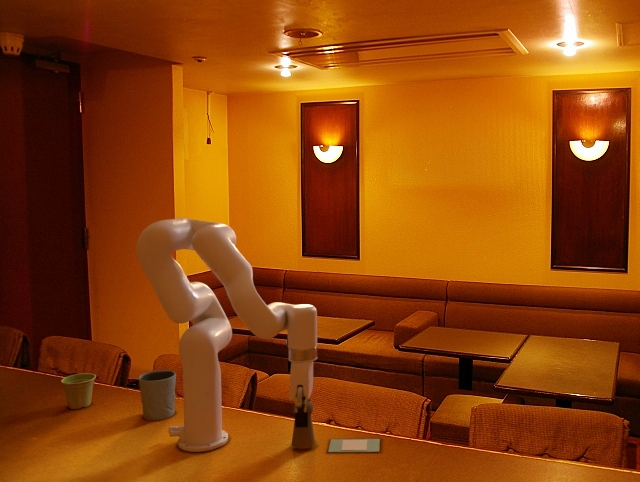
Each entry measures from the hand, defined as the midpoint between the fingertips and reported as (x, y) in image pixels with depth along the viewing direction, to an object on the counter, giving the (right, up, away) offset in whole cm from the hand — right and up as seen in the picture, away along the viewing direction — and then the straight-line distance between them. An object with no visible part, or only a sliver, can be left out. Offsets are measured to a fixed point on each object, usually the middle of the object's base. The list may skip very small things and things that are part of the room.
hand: (303, 421), depth 157 cm
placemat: (+13, -7, +1) cm, 15 cm away
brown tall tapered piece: (0, -6, 0) cm, 6 cm away
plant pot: (-73, -5, +29) cm, 79 cm away
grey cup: (-46, -6, +21) cm, 51 cm away
